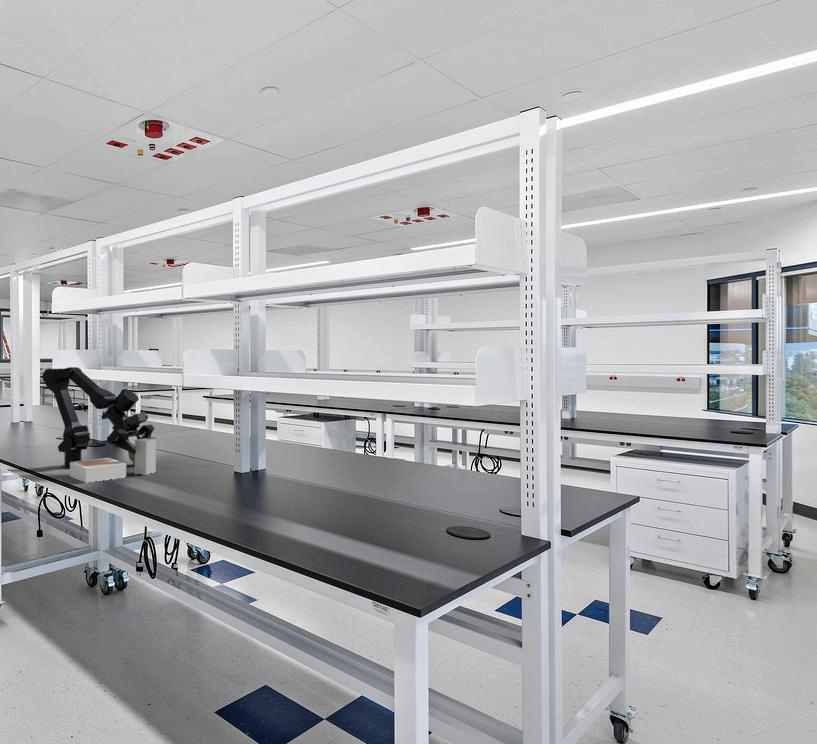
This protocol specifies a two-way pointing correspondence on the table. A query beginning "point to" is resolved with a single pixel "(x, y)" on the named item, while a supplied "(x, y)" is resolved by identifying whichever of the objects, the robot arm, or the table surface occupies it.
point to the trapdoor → (97, 463)
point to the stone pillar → (145, 456)
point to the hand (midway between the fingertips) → (144, 451)
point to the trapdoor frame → (97, 471)
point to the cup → (132, 456)
